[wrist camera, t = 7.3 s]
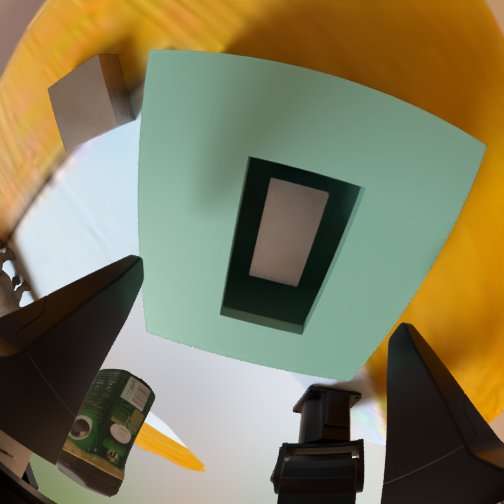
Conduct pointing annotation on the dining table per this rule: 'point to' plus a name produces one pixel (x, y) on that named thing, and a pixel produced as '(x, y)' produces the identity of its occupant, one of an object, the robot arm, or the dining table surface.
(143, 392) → the coffee jar
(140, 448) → the dining table surface
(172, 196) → the teal box
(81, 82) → the block
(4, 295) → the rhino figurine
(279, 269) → the block
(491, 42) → the dining table surface
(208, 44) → the dining table surface
